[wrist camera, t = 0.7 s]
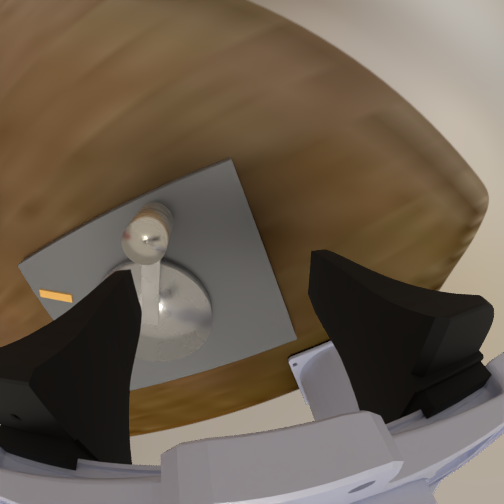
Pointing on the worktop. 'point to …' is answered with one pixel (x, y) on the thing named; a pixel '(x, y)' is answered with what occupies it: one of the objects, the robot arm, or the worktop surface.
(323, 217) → the worktop surface
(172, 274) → the dial
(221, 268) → the dial plate
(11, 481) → the robot arm
